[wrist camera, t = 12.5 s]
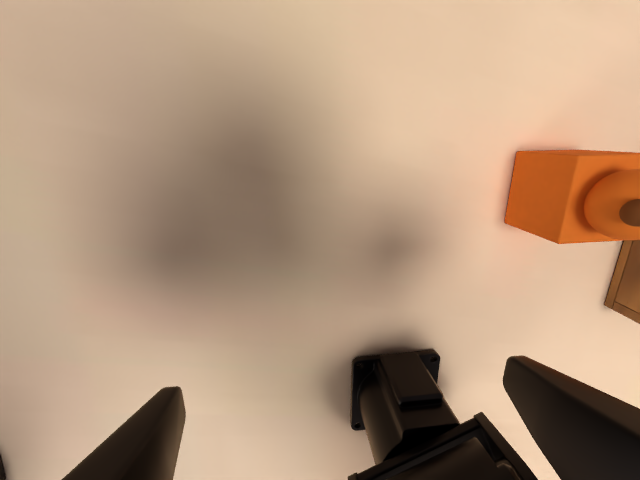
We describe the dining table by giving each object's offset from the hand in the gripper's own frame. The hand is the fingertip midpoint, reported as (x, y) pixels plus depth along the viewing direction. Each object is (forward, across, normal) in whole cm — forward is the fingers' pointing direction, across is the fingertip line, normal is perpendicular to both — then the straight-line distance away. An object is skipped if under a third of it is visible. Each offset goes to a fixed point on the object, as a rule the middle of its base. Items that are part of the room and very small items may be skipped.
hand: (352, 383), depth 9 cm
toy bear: (+12, -15, -3) cm, 19 cm away
